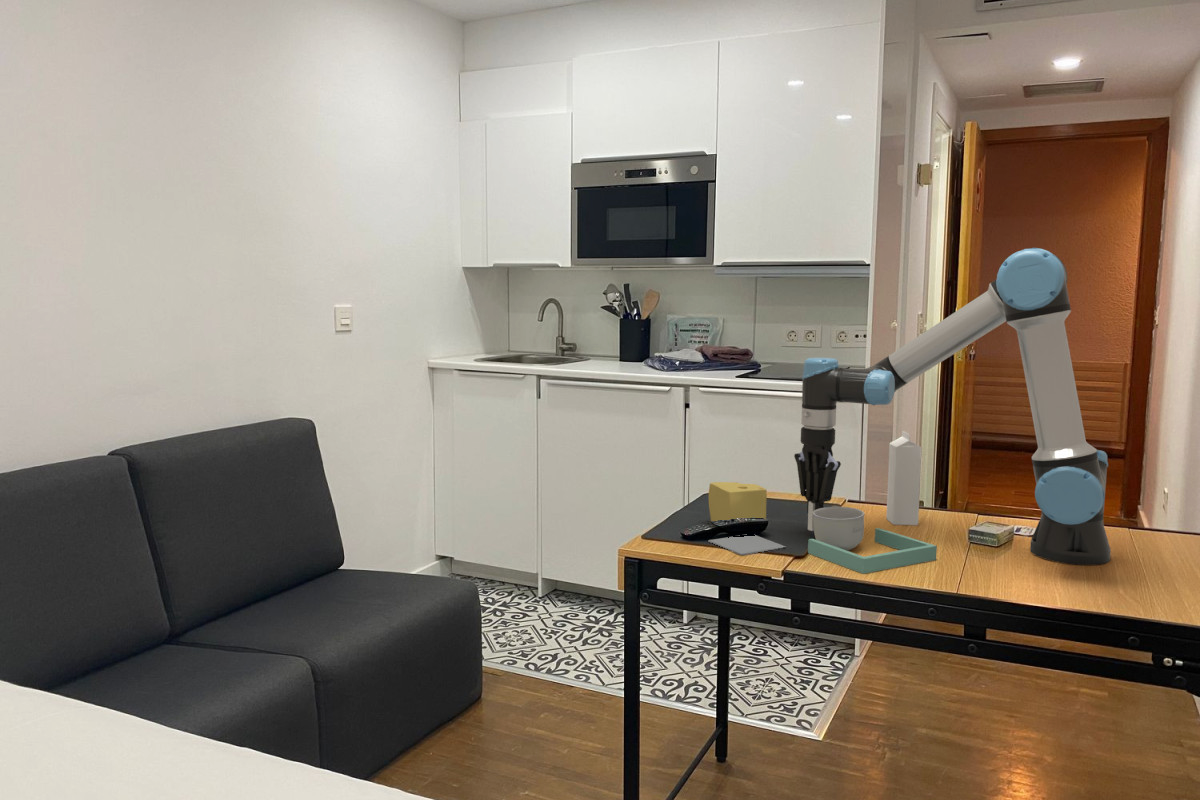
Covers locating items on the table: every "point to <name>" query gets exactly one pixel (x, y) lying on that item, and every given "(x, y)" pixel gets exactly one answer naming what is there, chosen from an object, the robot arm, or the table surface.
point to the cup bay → (906, 554)
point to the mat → (746, 544)
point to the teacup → (839, 526)
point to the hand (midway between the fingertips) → (814, 529)
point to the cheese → (736, 501)
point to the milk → (903, 481)
